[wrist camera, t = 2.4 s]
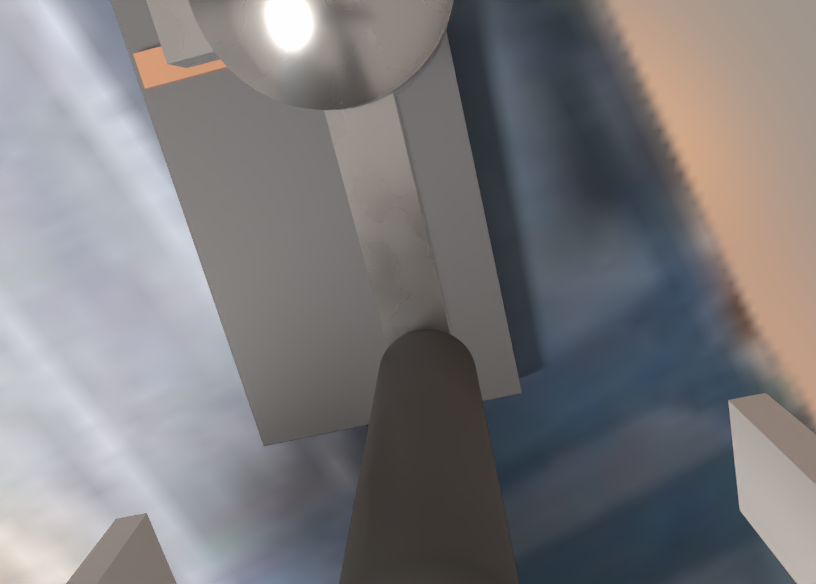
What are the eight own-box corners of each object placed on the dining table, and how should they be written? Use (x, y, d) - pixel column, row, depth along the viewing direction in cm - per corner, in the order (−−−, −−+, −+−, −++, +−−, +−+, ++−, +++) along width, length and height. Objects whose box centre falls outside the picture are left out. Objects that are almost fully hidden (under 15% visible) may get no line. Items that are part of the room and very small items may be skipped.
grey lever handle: (571, 356, 24) (756, 660, 10) (307, 411, 25) (171, 752, 11) (473, -183, 19) (588, -899, 6) (150, -87, 20) (-409, -502, 7)
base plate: (517, 380, 30) (537, 435, 25) (271, 431, 31) (240, 494, 26) (403, -162, 24) (397, -241, 19) (101, -73, 25) (15, -123, 20)
